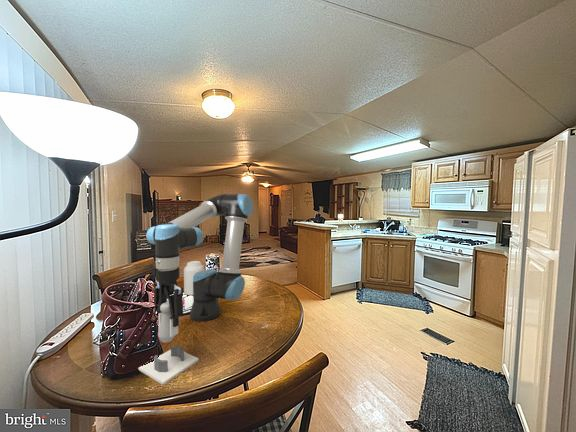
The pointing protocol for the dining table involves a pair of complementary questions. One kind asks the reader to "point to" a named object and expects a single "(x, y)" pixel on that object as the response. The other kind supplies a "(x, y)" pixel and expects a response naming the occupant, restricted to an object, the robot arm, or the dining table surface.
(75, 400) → the dining table surface
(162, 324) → the salt shaker
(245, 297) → the dining table surface
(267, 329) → the dining table surface
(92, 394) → the dining table surface
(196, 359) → the square base with blocks
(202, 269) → the can
